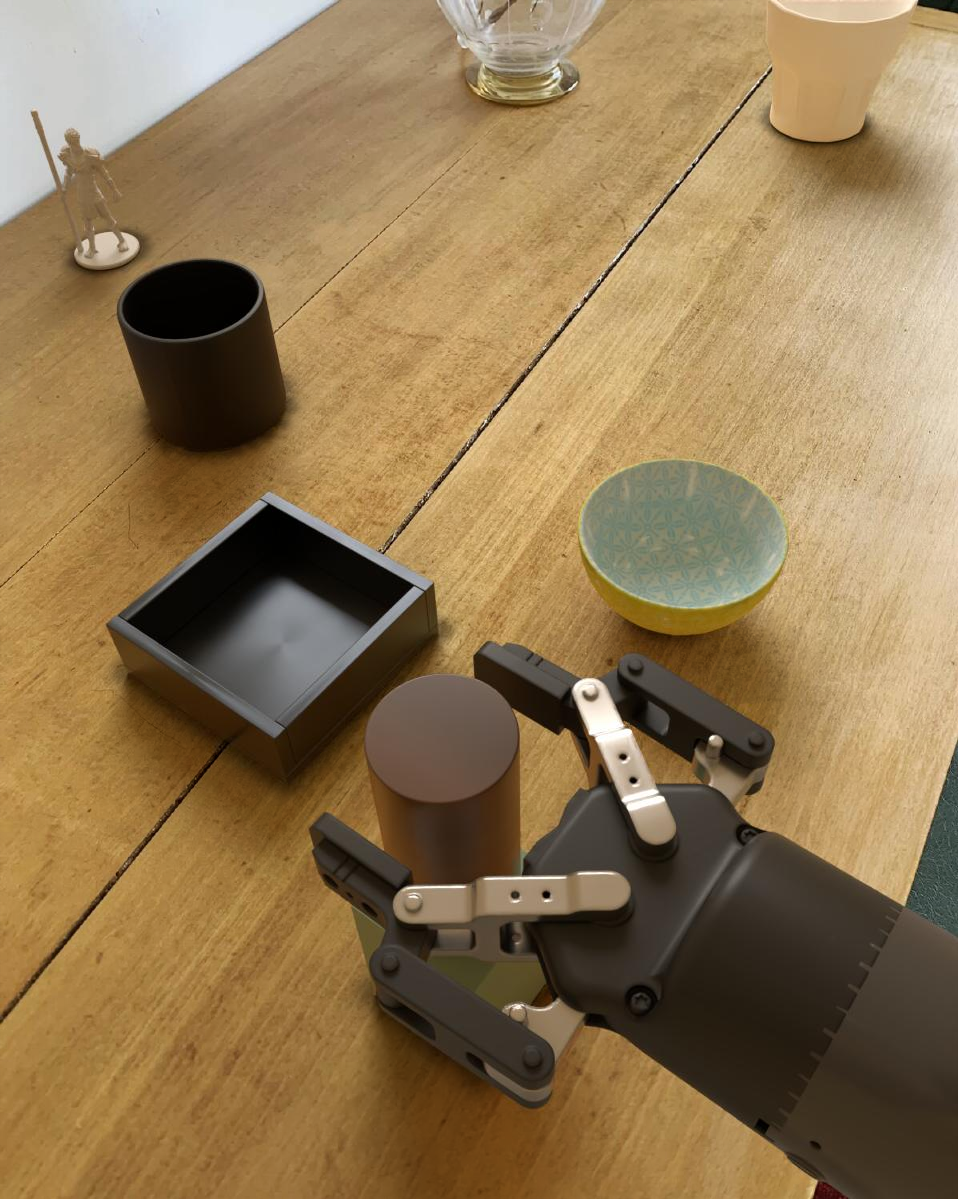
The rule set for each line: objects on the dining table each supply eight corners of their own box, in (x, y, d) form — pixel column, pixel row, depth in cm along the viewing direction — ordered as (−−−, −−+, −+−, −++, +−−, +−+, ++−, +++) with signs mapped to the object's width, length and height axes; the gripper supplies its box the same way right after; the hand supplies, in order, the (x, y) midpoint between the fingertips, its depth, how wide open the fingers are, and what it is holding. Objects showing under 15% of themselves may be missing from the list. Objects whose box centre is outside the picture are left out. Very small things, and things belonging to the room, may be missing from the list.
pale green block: (479, 1075, 48) (471, 996, 41) (374, 994, 50) (350, 906, 43) (558, 966, 51) (563, 875, 44) (455, 894, 53) (444, 797, 47)
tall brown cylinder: (469, 977, 41) (455, 833, 33) (368, 903, 44) (330, 750, 35) (545, 878, 44) (550, 720, 36) (446, 812, 46) (429, 649, 38)
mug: (184, 342, 83) (153, 233, 76) (314, 390, 79) (293, 279, 72) (96, 415, 78) (54, 304, 71) (230, 470, 73) (199, 359, 67)
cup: (737, 144, 100) (757, 15, 91) (756, 82, 107) (776, -42, 99) (881, 161, 97) (915, 29, 88) (890, 96, 105) (922, -31, 96)
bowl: (812, 609, 64) (835, 534, 59) (672, 715, 60) (684, 644, 55) (671, 504, 70) (681, 429, 65) (533, 594, 66) (534, 520, 61)
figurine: (68, 270, 90) (16, 126, 81) (82, 235, 93) (35, 92, 84) (132, 268, 90) (88, 123, 80) (145, 233, 93) (103, 90, 84)
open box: (288, 785, 58) (274, 739, 54) (126, 672, 63) (105, 624, 60) (439, 631, 64) (434, 582, 61) (280, 540, 69) (268, 490, 66)
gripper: (986, 780, 32) (524, 542, 38) (747, 1230, 25) (230, 841, 31) (915, 897, 37) (524, 672, 44) (705, 1291, 30) (275, 950, 37)
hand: (403, 742), depth 38 cm, fingers open, 8 cm apart
